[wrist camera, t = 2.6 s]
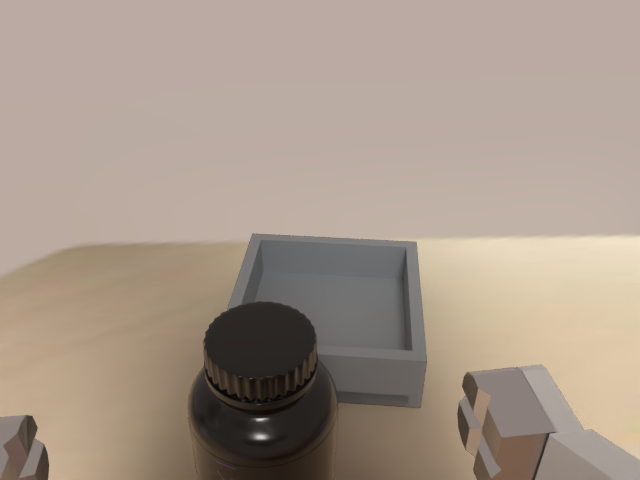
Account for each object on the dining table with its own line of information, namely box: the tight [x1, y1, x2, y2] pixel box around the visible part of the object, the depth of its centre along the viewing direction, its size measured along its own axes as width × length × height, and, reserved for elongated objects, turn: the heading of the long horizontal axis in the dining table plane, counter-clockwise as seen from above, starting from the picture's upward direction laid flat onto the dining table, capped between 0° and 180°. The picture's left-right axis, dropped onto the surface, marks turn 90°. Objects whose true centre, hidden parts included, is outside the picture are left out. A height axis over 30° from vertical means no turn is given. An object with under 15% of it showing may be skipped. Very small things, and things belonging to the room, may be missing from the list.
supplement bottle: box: [188, 301, 338, 480], centre depth 28 cm, size 7×7×12 cm
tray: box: [227, 234, 427, 408], centre depth 42 cm, size 13×13×4 cm
